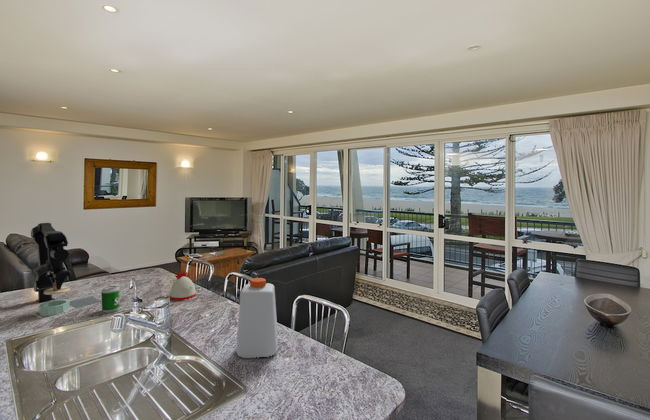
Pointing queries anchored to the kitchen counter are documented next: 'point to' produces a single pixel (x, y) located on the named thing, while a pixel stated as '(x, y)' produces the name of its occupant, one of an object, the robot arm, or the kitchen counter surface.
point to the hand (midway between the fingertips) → (57, 288)
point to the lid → (55, 291)
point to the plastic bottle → (257, 320)
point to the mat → (84, 302)
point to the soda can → (110, 299)
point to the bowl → (54, 307)
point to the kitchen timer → (182, 287)
